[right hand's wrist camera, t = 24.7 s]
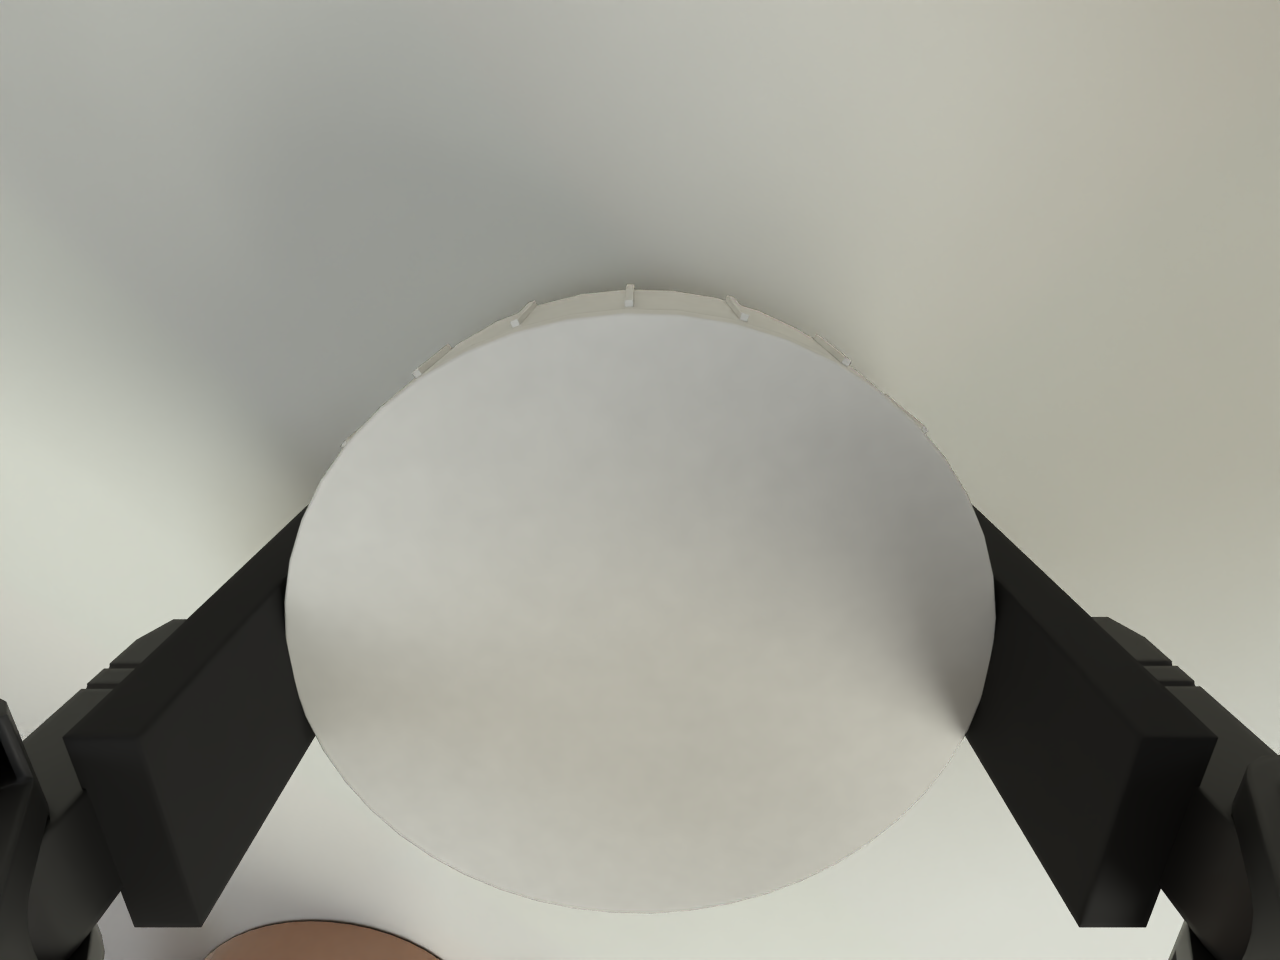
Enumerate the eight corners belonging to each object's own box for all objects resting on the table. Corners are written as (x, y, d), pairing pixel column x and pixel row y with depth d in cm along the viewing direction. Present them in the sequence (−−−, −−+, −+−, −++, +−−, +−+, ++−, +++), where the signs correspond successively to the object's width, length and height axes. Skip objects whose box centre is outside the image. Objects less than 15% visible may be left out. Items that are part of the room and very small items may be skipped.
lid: (248, 350, 11) (155, 388, 9) (935, 227, 10) (1011, 238, 8) (434, 839, 14) (399, 948, 12) (944, 773, 14) (997, 875, 12)
